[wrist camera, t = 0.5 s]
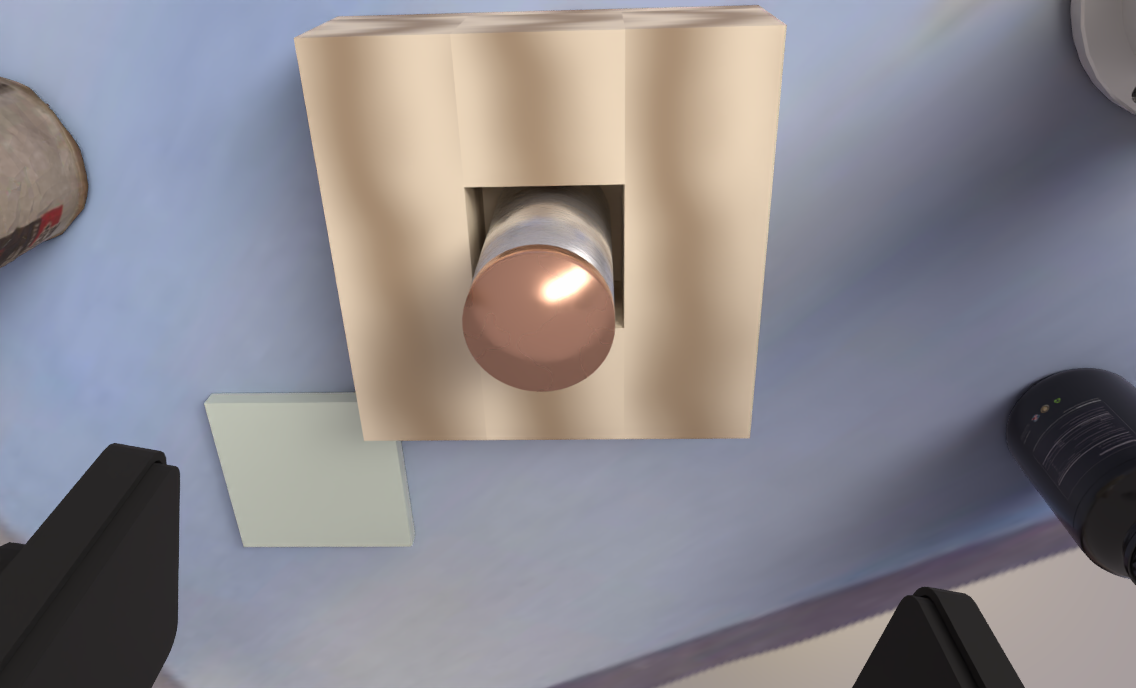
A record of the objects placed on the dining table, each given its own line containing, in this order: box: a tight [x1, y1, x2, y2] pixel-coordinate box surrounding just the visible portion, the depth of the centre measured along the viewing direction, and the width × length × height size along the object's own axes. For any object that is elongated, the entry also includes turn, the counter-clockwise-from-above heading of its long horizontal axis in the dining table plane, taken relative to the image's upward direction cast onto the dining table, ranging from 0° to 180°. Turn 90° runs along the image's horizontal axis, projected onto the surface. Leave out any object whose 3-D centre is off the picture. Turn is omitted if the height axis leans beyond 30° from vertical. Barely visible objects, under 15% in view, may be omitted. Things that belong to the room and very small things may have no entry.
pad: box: [204, 392, 415, 547], centre depth 47 cm, size 10×10×1 cm
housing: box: [294, 5, 787, 441], centre depth 38 cm, size 18×18×6 cm
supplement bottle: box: [1006, 368, 1136, 585], centre depth 40 cm, size 7×7×12 cm
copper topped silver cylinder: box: [462, 185, 615, 392], centre depth 34 cm, size 5×5×11 cm
